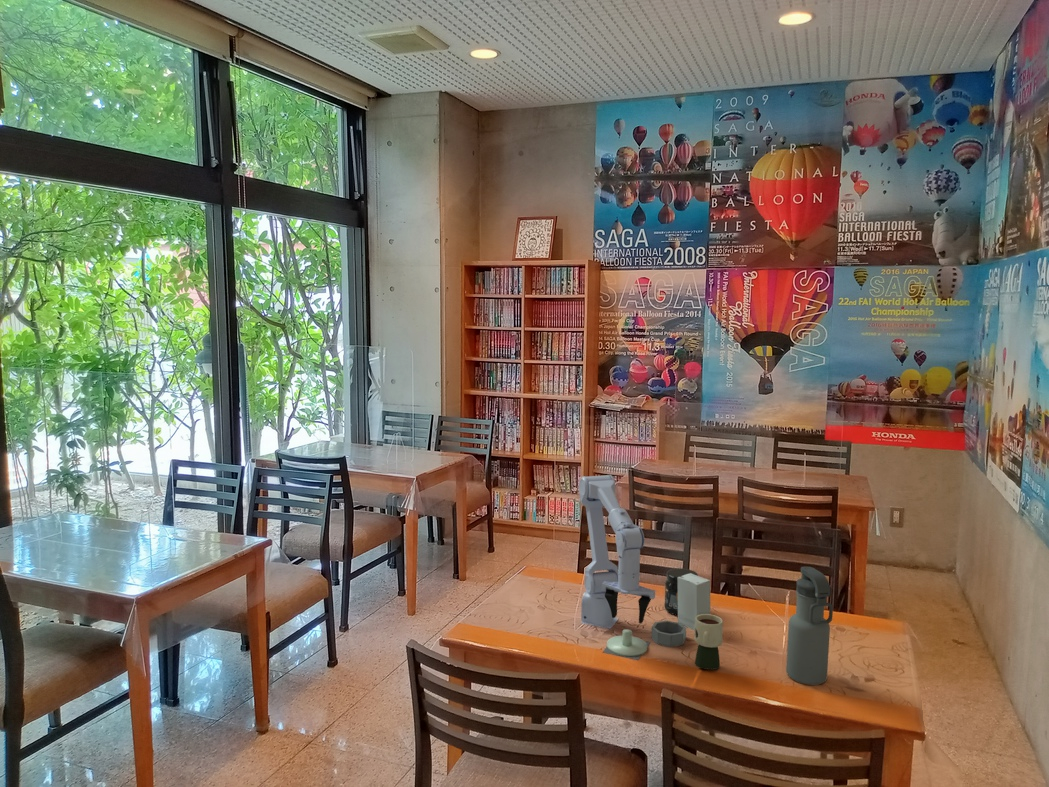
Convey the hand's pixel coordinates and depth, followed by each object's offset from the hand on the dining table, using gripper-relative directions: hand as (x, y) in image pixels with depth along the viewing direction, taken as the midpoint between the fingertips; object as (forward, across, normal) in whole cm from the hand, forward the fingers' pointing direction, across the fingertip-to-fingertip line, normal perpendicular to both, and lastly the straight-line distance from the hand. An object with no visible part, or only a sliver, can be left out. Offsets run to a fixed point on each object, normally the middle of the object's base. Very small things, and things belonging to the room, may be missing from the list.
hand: (627, 619), depth 200 cm
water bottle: (+9, +46, +6) cm, 47 cm away
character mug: (+9, +22, 0) cm, 24 cm away
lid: (+8, 0, 0) cm, 8 cm away
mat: (+9, 0, 0) cm, 9 cm away
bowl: (+9, +9, +10) cm, 16 cm away
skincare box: (+9, +13, +23) cm, 28 cm away
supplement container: (+9, +7, +33) cm, 35 cm away
